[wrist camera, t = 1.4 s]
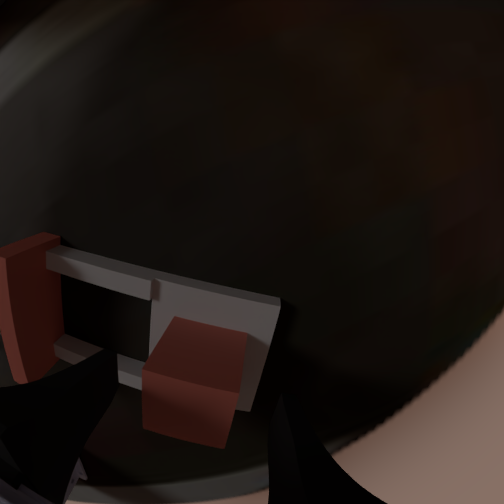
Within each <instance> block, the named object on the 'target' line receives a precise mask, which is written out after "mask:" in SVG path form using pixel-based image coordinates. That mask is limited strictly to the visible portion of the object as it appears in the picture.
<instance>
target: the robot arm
mask: <svg viewBox="0 0 504 504" xmlns="http://www.w3.org/2000/svg"><path fill="white" fill-rule="evenodd" d="M118 387H119V379H118V362H117V352H114V351H112V350H109V349H106V348H105V349H103V350H101V351H99V352H97V353H95V354H93V355H92V356H90V357H88V358H86V359H84V360H82V361H80V362H79V363H77V364H75V365H73V366H71V367H69V368H67V369H64V370H62V371H60V372H58V373H55V374H53V375H51V376H48V377H45V378H42V379H39V380H36V381H33V382H29V383H25V384H20V385H15V386H9V387H1V388H0V504H65V502H66V501H67V499H68V497H69V495H70V493H71V491H72V489H73V487H74V486H75V484H76V482H77V480H78V478H82V479H84V480H87V478H88V477H87V475H86V472H85V470H84V468H83V465H82V463H81V460H80V457H79V456H80V454H81V452H82V449H83V447H84V445H85V443H86V441H87V439H88V438H89V436H90V434H91V433H92V431H93V430H94V428H95V427H96V425H97V424H98V422H99V421H100V419H101V418H102V416H103V415H104V413H105V411H106V410H107V408H108V407H109V405H110V404H111V402H112V400H113V398H114V396H115V393H116V391H117V389H118ZM268 465H269V499H268V504H387V503H385V502H384V501H382V500H380V499H379V498H377V497H376V496H374V495H372V494H371V493H370V492H368V491H367V490H366V489H364V488H363V487H362V486H360V485H359V484H358V483H357V482H355V481H354V480H353V479H352V478H351V477H350V476H349V475H348V474H347V473H346V472H345V471H344V470H343V469H342V468H341V467H340V466H339V465H338V464H337V463H336V461H335V460H334V459H333V458H332V456H331V455H330V454H329V452H328V451H327V450H326V448H325V447H324V445H323V444H322V443H321V441H320V440H319V438H318V436H317V435H316V433H315V431H314V430H313V428H312V426H311V424H310V423H309V421H308V419H307V417H306V415H305V413H304V411H303V409H302V407H301V405H300V403H299V400H298V398H297V396H296V395H293V394H286V393H281V395H280V398H279V400H278V403H277V406H276V408H275V411H274V413H273V416H272V419H271V421H270V424H269V434H268Z"/></svg>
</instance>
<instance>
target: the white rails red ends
mask: <svg viewBox="0 0 504 504" xmlns="http://www.w3.org/2000/svg"><path fill="white" fill-rule="evenodd" d="M60 240H61V236H57V235H54V234H50V233H46V232H42V233H39V234H36V235H34V236H31V237H28V238H25V239H22V240H20V241H17V242H14V243H12V244H9V245H6V246H4V247H1V248H0V329H1V334H2V338H3V342H4V346H5V350H6V354H7V358H8V361H9V365H10V368H11V372H12V375H13V378H14V380H15V381H16V382H18V383H19V384H25V383H29V382H33V381H36V380H39V379H41V378H42V377H43V376H44V375H45V374H46V373H47V372H48V370H49V369H50V368H51V367H52V366H53V365H54V364H55V363H56V362H57V361H58V360H59V359H63V360H65V361H67V362H69V363H71V364H74V365H75V364H77V363H79V362H80V361H82V360H84V359H86V358H88V357H90V356H92V355H93V354H95V353H97V352H99V351H101V350H103V348H101V347H98V346H95V345H93V344H90V343H87V342H85V341H82V340H80V339H77V338H75V337H72V336H70V335H67V334H65V331H64V321H63V310H62V296H61V274H64V275H67V276H70V277H73V278H76V279H79V280H82V281H85V282H88V283H91V284H94V285H98V286H101V287H104V288H108V289H111V290H114V291H118V292H121V293H125V294H128V295H132V296H135V297H139V298H142V299H146V300H150V299H151V298H152V310H151V325H150V345H149V358H148V359H147V361H146V363H145V362H142V361H139V360H136V359H132V358H129V357H126V356H123V355H120V354H117V362H118V379H119V383H122V384H125V385H128V386H131V387H134V388H137V389H140V390H142V415H143V428H144V429H147V430H150V431H154V432H157V433H160V434H164V435H167V436H171V437H174V438H178V439H182V440H186V441H190V442H194V443H198V444H202V445H207V446H211V447H216V448H221V449H224V448H225V445H226V441H227V437H228V434H229V430H230V427H231V423H232V419H233V416H234V412H235V409H237V410H242V411H248V412H250V410H251V407H252V404H253V400H254V397H255V394H256V391H257V387H258V384H259V381H260V378H261V374H262V371H263V368H264V364H265V361H266V357H267V354H268V351H269V347H270V344H271V340H272V337H273V333H274V330H275V326H276V322H277V319H278V315H279V312H280V308H281V303H280V298H278V297H273V296H268V295H263V294H258V293H254V292H249V291H244V290H240V289H235V288H230V287H226V286H221V285H217V284H212V283H208V282H204V281H199V280H195V279H191V278H186V277H182V276H178V275H174V274H170V273H166V272H161V271H157V270H153V269H149V268H145V267H141V266H137V265H133V264H129V263H126V262H122V261H118V260H114V259H110V258H106V257H103V256H99V255H95V254H92V253H88V252H84V251H81V250H77V249H73V248H70V247H66V246H63V245H60Z"/></svg>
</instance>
